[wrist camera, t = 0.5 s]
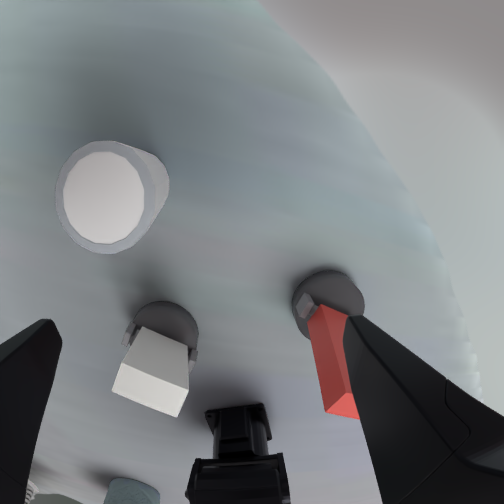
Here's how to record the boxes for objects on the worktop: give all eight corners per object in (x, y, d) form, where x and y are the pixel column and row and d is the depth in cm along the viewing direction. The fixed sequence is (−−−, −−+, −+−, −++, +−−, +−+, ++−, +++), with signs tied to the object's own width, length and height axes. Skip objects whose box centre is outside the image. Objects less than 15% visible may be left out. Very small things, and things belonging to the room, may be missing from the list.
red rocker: (345, 334, 26) (374, 424, 17) (300, 316, 25) (318, 413, 16) (360, 315, 25) (397, 404, 16) (315, 296, 24) (342, 391, 15)
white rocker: (181, 364, 25) (181, 419, 16) (132, 343, 24) (106, 388, 15) (190, 344, 25) (194, 392, 16) (140, 322, 24) (116, 360, 15)
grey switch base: (185, 365, 28) (181, 390, 25) (126, 340, 27) (115, 362, 24) (209, 318, 27) (206, 341, 23) (144, 290, 26) (132, 309, 22)
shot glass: (125, 242, 24) (91, 274, 18) (83, 174, 22) (37, 184, 16) (194, 198, 24) (178, 217, 17) (149, 125, 22) (117, 116, 15)
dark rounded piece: (334, 339, 28) (345, 361, 25) (278, 317, 27) (284, 339, 24) (369, 286, 27) (385, 304, 23) (313, 259, 26) (324, 275, 22)
